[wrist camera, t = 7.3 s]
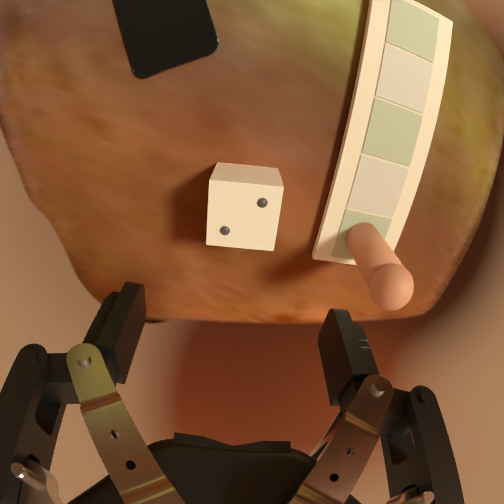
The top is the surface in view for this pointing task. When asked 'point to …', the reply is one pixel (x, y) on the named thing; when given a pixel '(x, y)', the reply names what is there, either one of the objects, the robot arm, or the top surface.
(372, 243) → the pawn
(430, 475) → the robot arm
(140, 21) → the smartphone
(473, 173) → the top surface
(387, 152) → the board
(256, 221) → the die
